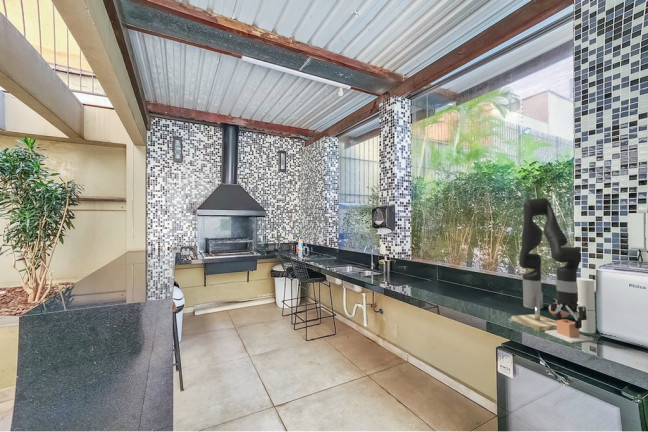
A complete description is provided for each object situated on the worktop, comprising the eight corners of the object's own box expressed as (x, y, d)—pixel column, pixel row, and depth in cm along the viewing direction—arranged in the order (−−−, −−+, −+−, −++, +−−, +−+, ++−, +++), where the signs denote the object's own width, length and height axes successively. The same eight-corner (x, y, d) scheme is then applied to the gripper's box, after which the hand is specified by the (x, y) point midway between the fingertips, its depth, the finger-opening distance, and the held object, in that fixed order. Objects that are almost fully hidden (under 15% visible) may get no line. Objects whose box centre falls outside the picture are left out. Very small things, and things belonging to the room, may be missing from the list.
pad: (565, 330, 137) (565, 328, 137) (593, 340, 125) (593, 338, 125) (545, 332, 134) (544, 330, 134) (571, 343, 123) (571, 341, 123)
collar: (566, 331, 133) (566, 319, 133) (579, 336, 127) (579, 323, 127) (557, 332, 132) (556, 320, 132) (569, 337, 126) (569, 324, 126)
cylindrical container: (585, 327, 140) (583, 277, 141) (600, 333, 133) (598, 280, 133) (571, 327, 140) (570, 277, 140) (585, 333, 133) (583, 280, 133)
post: (537, 319, 147) (537, 306, 147) (541, 320, 145) (540, 308, 145) (534, 319, 146) (533, 307, 146) (537, 320, 144) (537, 308, 144)
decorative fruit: (562, 323, 146) (561, 303, 147) (546, 317, 154) (545, 299, 155) (574, 321, 149) (574, 302, 149) (558, 316, 157) (557, 298, 157)
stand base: (536, 317, 155) (536, 314, 155) (566, 328, 139) (566, 324, 139) (511, 319, 152) (511, 316, 152) (539, 331, 136) (539, 326, 136)
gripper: (590, 293, 124) (591, 330, 123) (558, 286, 138) (559, 319, 137) (576, 294, 122) (578, 331, 122) (545, 286, 136) (546, 320, 136)
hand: (568, 324), depth 130 cm, fingers open, 8 cm apart
